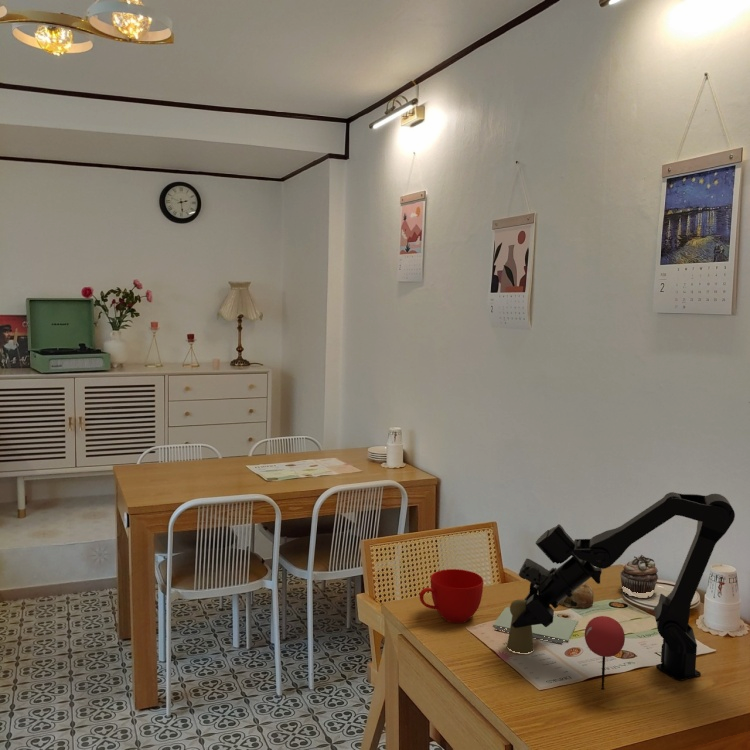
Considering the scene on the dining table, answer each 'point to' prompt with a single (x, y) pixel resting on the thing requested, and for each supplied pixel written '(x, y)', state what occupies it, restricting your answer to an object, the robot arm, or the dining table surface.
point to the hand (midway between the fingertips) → (515, 619)
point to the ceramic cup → (455, 594)
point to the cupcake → (639, 575)
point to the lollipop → (604, 638)
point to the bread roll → (579, 597)
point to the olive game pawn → (519, 631)
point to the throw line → (534, 636)
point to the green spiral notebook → (557, 629)
